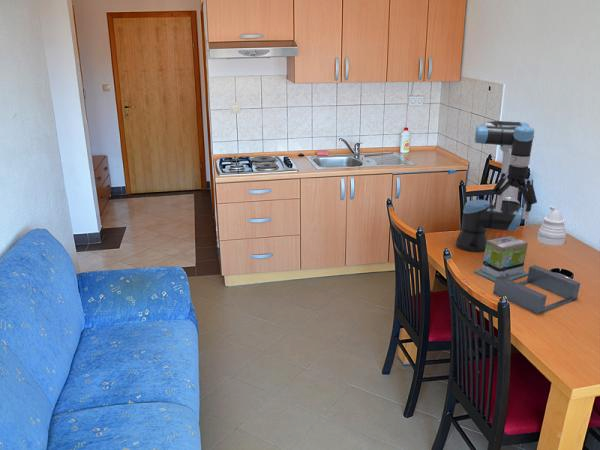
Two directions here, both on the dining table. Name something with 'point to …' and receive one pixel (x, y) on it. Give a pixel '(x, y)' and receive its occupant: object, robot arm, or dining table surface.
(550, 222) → the honey pot
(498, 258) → the tea box
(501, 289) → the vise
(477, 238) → the robot arm
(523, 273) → the mat
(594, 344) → the dining table surface
